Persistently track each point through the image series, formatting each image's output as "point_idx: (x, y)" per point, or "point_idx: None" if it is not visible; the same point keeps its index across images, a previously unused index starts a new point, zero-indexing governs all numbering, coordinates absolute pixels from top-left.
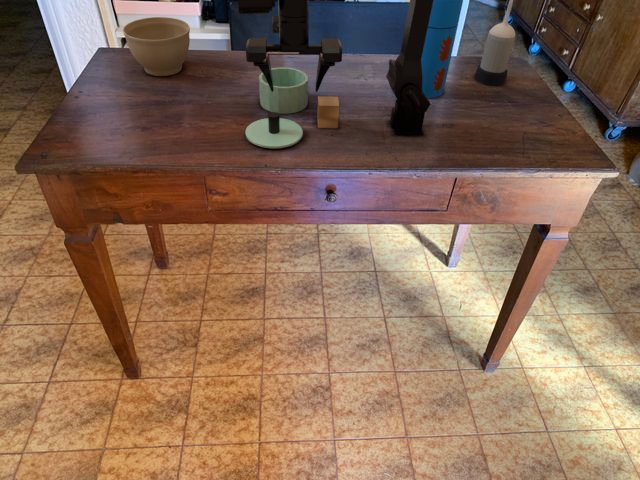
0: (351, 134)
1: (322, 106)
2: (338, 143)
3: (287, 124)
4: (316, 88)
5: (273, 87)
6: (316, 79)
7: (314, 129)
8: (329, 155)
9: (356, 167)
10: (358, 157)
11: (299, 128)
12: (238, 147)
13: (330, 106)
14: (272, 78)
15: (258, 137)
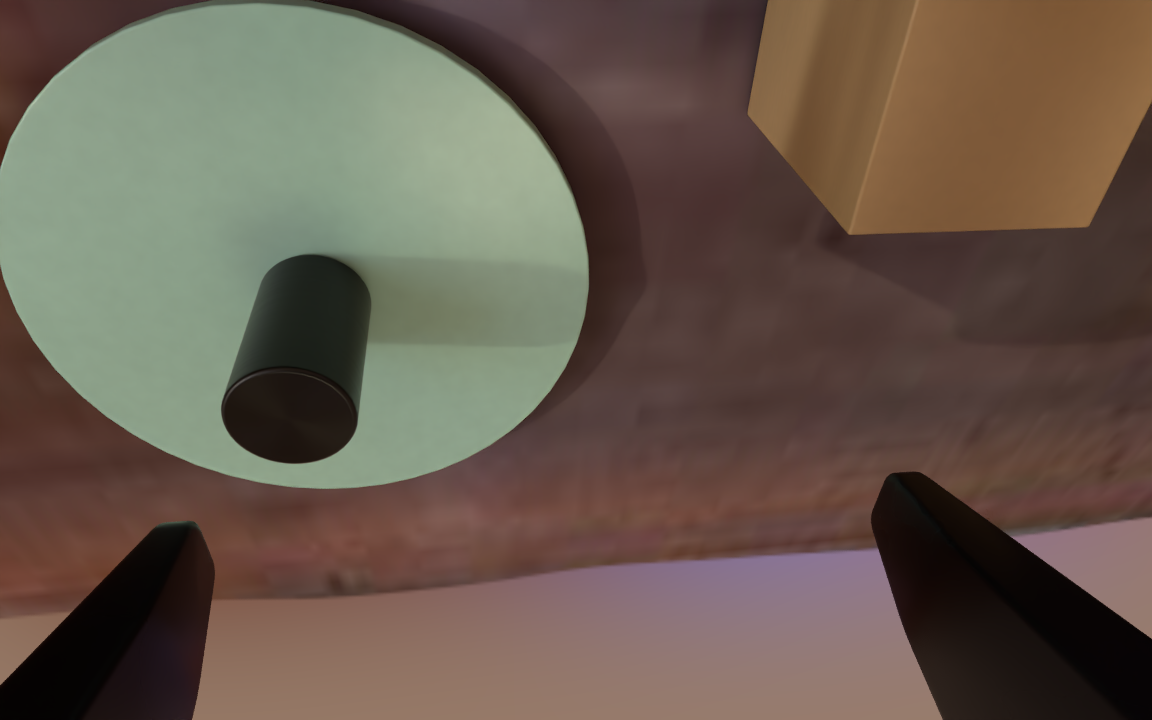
0: None
1: (886, 230)
2: (846, 339)
3: (436, 165)
4: (898, 583)
5: (183, 545)
6: (981, 662)
7: (707, 139)
8: (739, 466)
9: (857, 542)
10: (909, 467)
11: (562, 235)
12: (59, 443)
13: (981, 227)
14: (113, 711)
15: (193, 397)
